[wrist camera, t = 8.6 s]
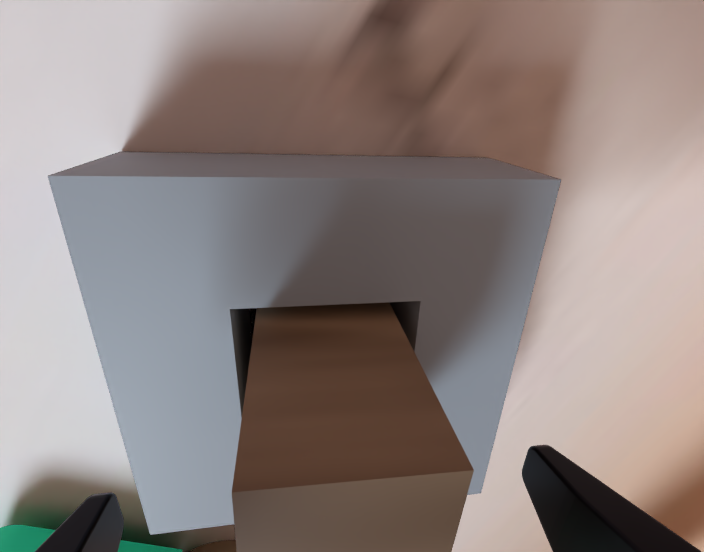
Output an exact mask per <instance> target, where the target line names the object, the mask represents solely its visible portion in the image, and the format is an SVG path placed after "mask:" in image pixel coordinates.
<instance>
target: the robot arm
mask: <svg viewBox="0 0 704 552" xmlns="http://www.w3.org/2000/svg"><path fill="white" fill-rule="evenodd" d="M522 477H523V481H524V483H525V486H526V488H527V491H528V493H529V495H530V498H531V500H532V503H533V505H534V508H535V510H536V512H537V515H538V517H539V520H540V522H541V524H542V527H543V529H544V532H545V534H546V537H547V539H548V541H549V544H550V546H551V548H552V550H553V552H701V551H700V550H699V549H697V548H696V547H694V546H693V545H691V544H690V543H688V542H687V541H686V540H684V539H683V538H681V537H680V536H678V535H677V534H676V533H674V532H673V531H671V530H670V529H668V528H667V527H666V526H664V525H663V524H661V523H660V522H658V521H657V520H655V519H654V518H653V517H651V516H650V515H648V514H647V513H645V512H644V511H643V510H641V509H640V508H638V507H637V506H635V505H634V504H632V503H631V502H630V501H628V500H627V499H625V498H624V497H622V496H621V495H620V494H618V493H617V492H615V491H614V490H612V489H611V488H609V487H608V486H607V485H605V484H604V483H602V482H601V481H599V480H598V479H597V478H595V477H594V476H592V475H591V474H589V473H588V472H586V471H585V470H584V469H582V468H581V467H579V466H578V465H576V464H575V463H574V462H572V461H571V460H569V459H568V458H566V457H565V456H563V455H562V454H561V453H559V452H558V451H556V450H555V449H553V448H552V447H550V446H548V445H537V446H531V447H530V448H529V450H528V452H527V456H526V459H525V462H524V465H523V469H522ZM123 526H124V521H123V516H122V512H121V509H120V506H119V503H118V500H117V497H116V495H115V494H114V493H101V494H94V495H91V496H90V497H88V498H87V499H86V500H85V501H84V502H83V503H82V504H81V505H80V506H79V507H78V508H77V509H76V510H75V511H74V512H73V513H72V514H71V515H70V516H69V517H68V518H67V519H66V520H65V521H64V522H63V523H62V524H61V525H60V526H59V527H58V528H57V529H56V530H55V531H54V532H53V533H52V534H51V535H50V536H49V538H48V539H47V540H46V541H45V542H44V543H43V544H42V545H41V546H40V547H39V548H38V549H37V550H36V551H35V552H118V549H119V545H120V540H121V536H122V532H123Z"/></svg>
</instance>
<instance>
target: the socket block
mask: <svg viewBox="0 0 704 552" xmlns="http://www.w3.org/2000/svg"><path fill="white" fill-rule="evenodd" d="M48 178H49V182H50V185H51V189H52V193H53V196H54V200H55V203H56V207H57V210H58V214H59V217H60V221H61V224H62V228H63V231H64V235H65V238H66V242H67V245H68V249H69V252H70V256H71V259H72V263H73V266H74V270H75V273H76V277H77V280H78V284H79V287H80V291H81V294H82V298H83V301H84V305H85V308H86V312H87V315H88V319H89V322H90V326H91V329H92V333H93V336H94V340H95V343H96V347H97V350H98V354H99V357H100V361H101V364H102V368H103V371H104V375H105V378H106V382H107V386H108V389H109V393H110V396H111V400H112V403H113V407H114V410H115V414H116V417H117V421H118V424H119V428H120V431H121V435H122V438H123V442H124V445H125V449H126V452H127V456H128V459H129V463H130V466H131V470H132V473H133V477H134V480H135V484H136V487H137V491H138V494H139V498H140V501H141V505H142V508H143V512H144V515H145V519H146V522H147V526H148V529H149V533H150V535H153V534H161V533H169V532H177V531H185V530H193V529H201V528H209V527H216V526H224V525H232V524H234V515H233V503H232V486H233V479H234V471H235V464H236V457H237V449H238V442H239V435H240V427H241V420H242V413H243V405H244V398H245V391H246V383H247V376H248V369H249V361H250V354H251V347H252V338H251V326H250V314H249V308H269V307H292V306H315V305H338V304H362V303H385V302H389V303H390V305H391V307H392V309H393V311H394V313H395V315H396V317H397V319H398V321H399V323H400V325H401V327H402V329H403V331H404V333H405V335H406V337H407V339H408V340H409V342H410V344H411V346H412V348H413V350H414V352H415V354H416V356H417V358H418V360H419V362H420V364H421V366H422V368H423V370H424V372H425V374H426V376H427V378H428V380H429V382H430V384H431V386H432V388H433V390H434V392H435V394H436V396H437V398H438V400H439V402H440V404H441V406H442V408H443V410H444V412H445V414H446V416H447V418H448V420H449V422H450V424H451V426H452V428H453V430H454V432H455V434H456V436H457V438H458V440H459V442H460V444H461V445H462V447H463V449H464V451H465V453H466V455H467V457H468V459H469V461H470V463H471V465H472V467H473V469H474V472H473V476H472V479H471V483H470V486H469V490H468V493H467V495H470V494H478V493H481V490H482V487H483V483H484V479H485V475H486V471H487V467H488V463H489V459H490V455H491V451H492V448H493V444H494V440H495V436H496V432H497V428H498V424H499V420H500V416H501V412H502V409H503V405H504V401H505V397H506V393H507V389H508V385H509V381H510V377H511V373H512V370H513V366H514V362H515V358H516V354H517V350H518V346H519V342H520V338H521V334H522V331H523V327H524V323H525V319H526V315H527V311H528V307H529V303H530V299H531V295H532V292H533V288H534V284H535V280H536V276H537V272H538V268H539V264H540V260H541V256H542V253H543V249H544V245H545V241H546V237H547V233H548V229H549V225H550V221H551V218H552V214H553V210H554V206H555V202H556V198H557V194H558V190H559V186H560V182H561V179H557V178H554V177H551V176H547V175H544V174H541V173H537V172H534V171H531V170H527V169H524V168H521V167H518V166H514V165H511V164H508V163H504V162H501V161H498V160H494V159H491V158H471V157H411V156H351V155H291V154H230V153H170V152H118V153H115V154H112V155H109V156H106V157H103V158H100V159H97V160H94V161H91V162H88V163H85V164H82V165H79V166H76V167H73V168H70V169H67V170H64V171H61V172H58V173H55V174H52V175H49V176H48Z"/></svg>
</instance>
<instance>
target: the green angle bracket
mask: <svg viewBox="0 0 704 552" xmlns="http://www.w3.org/2000/svg"><path fill="white" fill-rule="evenodd" d="M54 531H55V530H52V529H46V528H39V527H33V526H26V525H9V526H5V527H2V528H0V552H35V551H36V550H37V549H38V548H39V547H40V546H41V545H42V544H43V543H44V542H45V541H46V540H47V539H48V538H49V536H50V535H51V534H52V533H53V532H54ZM118 552H182V549H176V548H169V547H163V546H156V545H150V544H143V543H137V542H130V541H124V540H120V545H119V549H118Z"/></svg>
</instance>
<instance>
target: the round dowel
mask: <svg viewBox="0 0 704 552" xmlns="http://www.w3.org/2000/svg"><path fill="white" fill-rule="evenodd" d="M189 552H237V550H236V540H226V541H218V542H212V543H208V544H205V545H202V546H199V547H197V548H195V549H193V550H191V551H189Z"/></svg>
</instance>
